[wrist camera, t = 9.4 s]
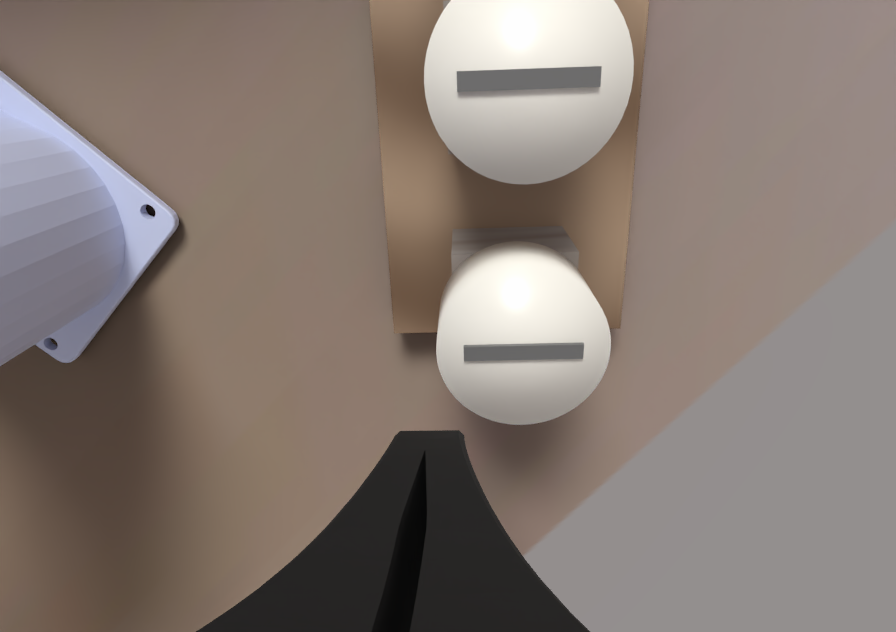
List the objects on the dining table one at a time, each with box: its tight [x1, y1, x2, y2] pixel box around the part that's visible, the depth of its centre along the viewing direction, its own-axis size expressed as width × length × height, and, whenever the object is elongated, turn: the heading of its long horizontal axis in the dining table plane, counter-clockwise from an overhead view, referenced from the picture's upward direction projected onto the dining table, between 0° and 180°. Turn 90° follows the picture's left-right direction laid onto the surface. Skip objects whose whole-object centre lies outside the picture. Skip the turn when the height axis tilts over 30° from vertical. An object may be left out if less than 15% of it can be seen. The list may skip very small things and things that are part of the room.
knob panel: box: [369, 0, 649, 333], centre depth 17 cm, size 17×8×4 cm, turn 2°
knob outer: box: [436, 241, 611, 425], centre depth 17 cm, size 4×4×6 cm
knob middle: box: [424, 0, 634, 184], centre depth 15 cm, size 4×4×6 cm
